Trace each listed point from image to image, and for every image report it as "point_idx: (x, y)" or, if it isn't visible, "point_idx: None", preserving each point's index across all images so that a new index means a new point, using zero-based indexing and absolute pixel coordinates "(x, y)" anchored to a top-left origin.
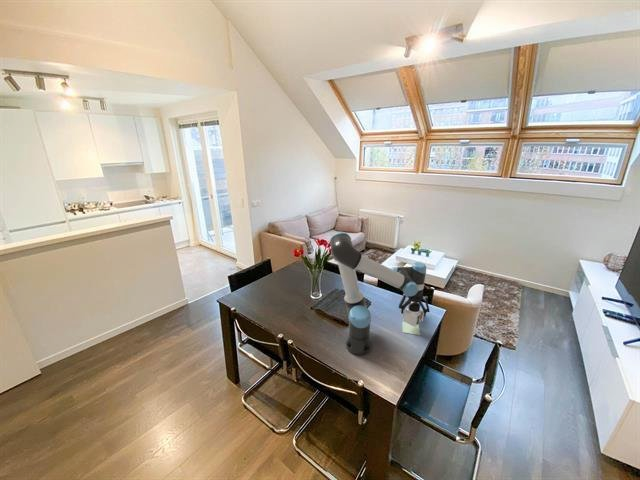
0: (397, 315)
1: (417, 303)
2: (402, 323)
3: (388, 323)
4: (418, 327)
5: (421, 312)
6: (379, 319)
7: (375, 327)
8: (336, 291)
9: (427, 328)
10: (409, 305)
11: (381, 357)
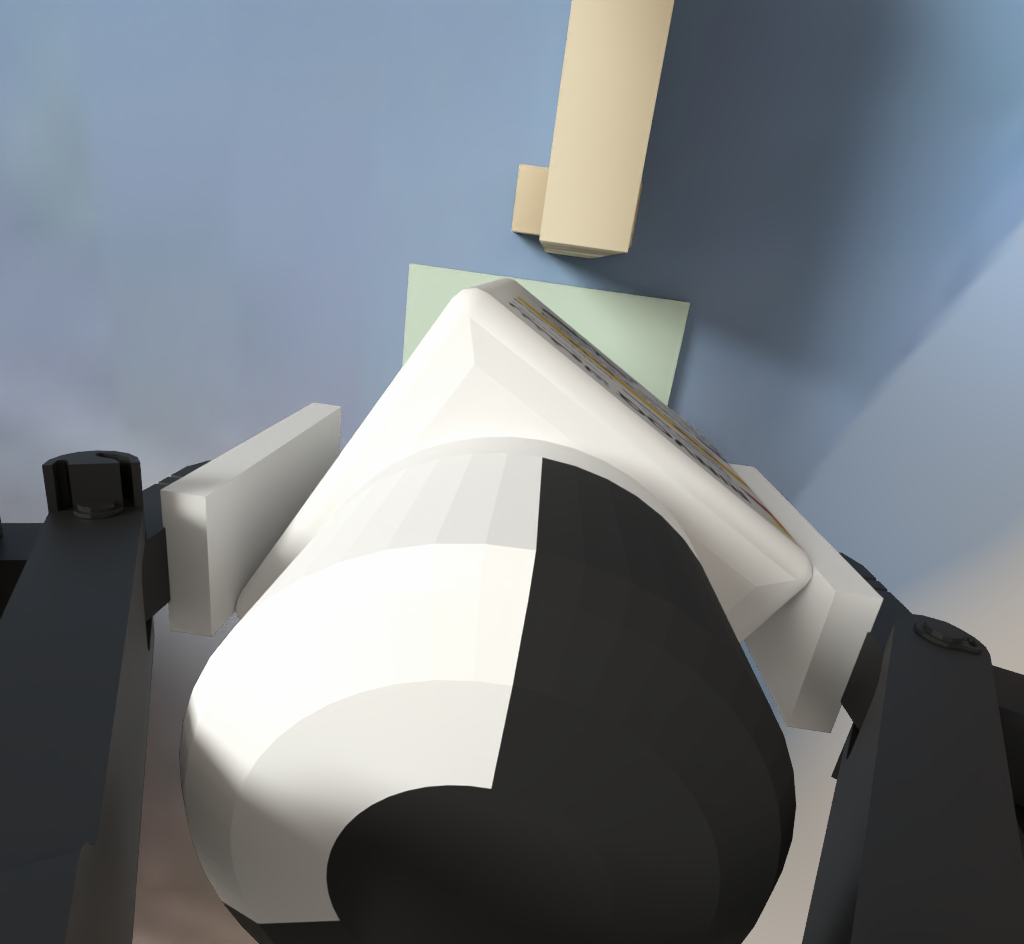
0: (337, 47)
1: (670, 858)
2: (406, 316)
3: (183, 325)
4: (658, 395)
5: (765, 608)
6: (24, 230)
7: (5, 440)
8: None
9: (807, 388)
10: (217, 877)
11: (156, 864)
